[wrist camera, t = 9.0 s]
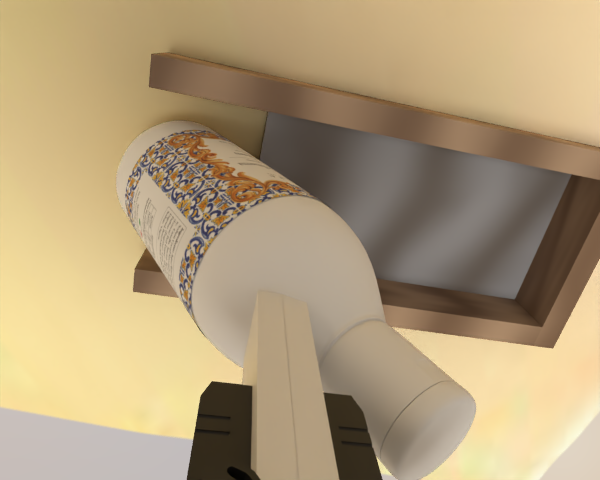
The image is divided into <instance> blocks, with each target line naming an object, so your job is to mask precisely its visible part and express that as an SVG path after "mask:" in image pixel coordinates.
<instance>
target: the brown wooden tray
mask: <svg viewBox="0 0 600 480" xmlns="http://www.w3.org/2000/svg"><path fill="white" fill-rule="evenodd" d="M149 87H152V88H156V89H161V90H166V91H171V92H176V93H181V94H186V95H190V96H195V97H200V98H205V99H210V100H215V101H219V102H224V103H229V104H234V105H239V106H244V107H248V108H253V109H258V110H263V111H268V115H267V121H266V126H265V132H264V137H263V143H262V149H261V154H260V161H261V162H263V163H264V164H266V165H267V166H269V167H270V168H272V169H273V170H275V171H276V172H278V173H279V174H281V175H282V176H284V177H285V178H287V179H288V180H290V181H291V182H293V183H295V184H296V185H298V186H299V187H301V188H302V189H304V190H305V191H307V192H308V193H310V194H311V195H313V196H314V197H316V198H317V199H319V200H320V201H322V202H323V203H325V204H326V205H328V206H329V207H330V208H331V209H332V210H333V211H334V212H335V213H336V214H338V215H339V216H340V217H341V218H342V219H343V220H344V221H345V222H346V223H347V225H348V226H349V227H350V228H351V229H352V230H353V232H354V233H355V235H356V236H357V237H358V239H359V240H360V242H361V243H362V245H363V247H364V249H365V250H366V252H367V255H368V257H369V259H370V262H371V264H372V267H373V270H374V273H375V276H376V280H377V284H378V288H379V293H380V297H381V302H382V306H383V311H384V316H385V321H386V323H387V325H389V326H391V327H398V328H406V329H413V330H420V331H428V332H435V333H443V334H450V335H457V336H465V337H472V338H479V339H487V340H494V341H502V342H509V343H516V344H524V345H531V346H538V347H546V348H554V346H555V344H556V342H557V340H558V338H559V336H560V334H561V332H562V330H563V328H564V326H565V324H566V322H567V321H568V319H569V317H570V315H571V313H572V311H573V309H574V307H575V305H576V303H577V301H578V299H579V297H580V295H581V294H582V292H583V290H584V288H585V286H586V284H587V282H588V280H589V278H590V276H591V274H592V272H593V270H594V268H595V267H596V265H597V263H598V261H599V259H600V147H595V146H591V145H586V144H581V143H577V142H572V141H568V140H563V139H559V138H554V137H550V136H545V135H540V134H536V133H531V132H527V131H522V130H518V129H513V128H509V127H504V126H499V125H495V124H490V123H486V122H481V121H477V120H472V119H468V118H463V117H458V116H454V115H449V114H445V113H440V112H436V111H431V110H427V109H422V108H418V107H413V106H408V105H404V104H399V103H395V102H390V101H386V100H381V99H377V98H372V97H367V96H363V95H358V94H354V93H349V92H345V91H340V90H336V89H331V88H326V87H322V86H317V85H313V84H308V83H304V82H299V81H295V80H290V79H285V78H281V77H276V76H272V75H267V74H263V73H258V72H254V71H249V70H244V69H240V68H235V67H231V66H226V65H222V64H217V63H213V62H208V61H203V60H199V59H194V58H190V57H185V56H181V55H176V54H172V53H158V54H151V67H150V80H149ZM133 292H140V293H147V294H155V295H162V296H169V297H177V298H179V297H178V295H177V294H176V292H175V291H174V289H173V288H172V286H171V284H170V283H169V281H168V280H167V278H166V277H165V275H164V274H163V272H162V270H161V269H160V267H159V266H158V264H157V263H156V261H155V260H154V258H153V256H152V255H151V253H150V252H149V250H148V249H147V248H146V250H145V251H144V253H143V255H142V257H141V259H140V260H139V262H138V264H137V266H136V268H135V273H134V286H133Z"/></svg>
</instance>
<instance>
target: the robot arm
mask: <svg viewBox="0 0 600 480" xmlns="http://www.w3.org/2000/svg"><path fill="white" fill-rule="evenodd" d="M187 480H382V476H381V473H380V469H379V466H378V462H377V459H376V455H375V452H374V448H372V441H371V438H370V434H369V433H368V427H367V423H366V420H365V416H364V413H363V411H362V409H361V408H360V407H359V405H358V404H357V403H356V401H355V400H354V399H353V397H352V396H351V395H342V394H333V393H324V392H323V388H322V383H321V378H320V372H319V367H318V361H317V356H316V350H315V345H314V339H313V334H312V328H311V323H310V318H309V312H308V307H307V302H304V301H301V300H298V299H295V298H292V297H289V296H286V295H284V294H280V293H273V292H266V291H259V290H258V293H257V297H256V302H255V307H254V312H253V317H252V322H251V328H250V333H249V337H248V342H247V347H246V351H245V356H244V361H243V378H242V385H240V384H231V383H222V382H213V381H212V382H211V383H210V385H209V386H208V387H207V388H206V390H205V391H204V392H203V394H202V395H201V397H200V403H199V409H198V415H197V421H196V427H195V433H194V439H193V446H192V451H191V457H190V463H189V469H188V475H187Z"/></svg>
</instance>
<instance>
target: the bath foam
mask: <svg viewBox="0 0 600 480" xmlns="http://www.w3.org/2000/svg"><path fill="white" fill-rule="evenodd" d="M116 190H117V195H118V199H119V202H120V204H121V207H122V209H123V210H124V212H125V214H126V215H127V217H128V219H129V220H130V222H131V224H132V225H133V227H134V229H135V230H136V232H137V233H138V235H139V236H140V238H141V239H142V241H143V243H144V244H145V246H146V247H147V249H148V250H149V252H150V253H151V255H152V256H153V258H154V260H155V261H156V263H157V264H158V266H159V267H160V269H161V270H162V272H163V274H164V275H165V277H166V278H167V280H168V281H169V283H170V284H171V286H172V288H173V289H174V291H175V292H176V294H177V295H178V297H179V298H180V300H181V302H182V303H183V305H184V306H185V308H186V309H187V311H188V312H189V314H190V315H191V317H192V319H193V320H194V322H195V323H196V325H197V326H198V328H199V329H200V331H201V332H202V333H203V335H204V336H205V337H206V338H207V339H208V340H209V341H210V342H211V343H212V344H213V345H214V346H215V347H216V348H217V349H218V350H219V351H220V352H221V353H222V354H223V355H225V356H226V357H227V358H228V359H230V360H231V361H232V362H234V363H235V364H237V365H238V366H240V367H242V368H243V361H244V356H245V351H246V347H247V342H248V337H249V333H250V328H251V322H252V317H253V312H254V307H255V302H256V297H257V293H258V290H259V291H266V292H273V293H280V294H284V295H286V296H289V297H292V298H295V299H298V300H301V301H304V302H307V307H308V312H309V318H310V323H311V328H312V334H313V339H314V345H315V350H316V356H317V361H318V367H319V372H320V378H321V383H322V388H323V392H324V393H333V394H342V395H351V396H352V397H353V399H354V400H355V401H356V403H357V404H358V405H359V407H360V408H361V409H362V411H363V413H364V416H365V420H366V423H367V427H368V433H369V434H370V438H371V441H372V448H374V452H375V455H376V456H377V458H378V459H379V460H380V461H381V462H382V463H383V465H384V466H385V467H386V468H387V469H388V471H389V472H390V473H391V474H392V475H393V476H394V477H395V478H396V479H398V480H419V479H422V478H423V477H425V476H427V475H428V474H430V473H431V472H433V471H434V470H435V469H436V468H438V467H439V466H440V465H441V464H442V463H443V462H444V461H445V460H446V459H447V458H448V457H449V456H450V455H451V454H452V453H453V452H454V451H455V449H456V448H457V447H458V446H459V444H460V443H461V442H462V440H463V439H464V437H465V436H466V434H467V432H468V431H469V429H470V427H471V425H472V422H473V420H474V417H475V413H476V404H475V400H474V399H473V397H472V396H471V394H470V393H469V392H468V391H467V390H465V389H464V388H463V387H462V386H460V385H459V384H458V383H457V382H455V381H454V380H453V379H452V378H451V377H449V376H448V375H447V374H446V373H445V372H444V371H442V370H441V369H440V368H439V367H438V366H436V365H435V364H434V363H433V362H432V361H431V360H430V359H428V358H427V357H426V356H425V355H424V354H423V353H422V352H420V351H419V350H418V349H417V348H416V347H415V346H413V345H412V344H411V343H410V342H409V341H408V340H406V339H405V338H404V337H403V336H402V335H400V334H399V333H398V332H397V331H395V330H394V329H393V328H392V327H390V326H389V325H387V323H386V321H385V316H384V311H383V306H382V302H381V297H380V293H379V288H378V284H377V280H376V276H375V273H374V270H373V267H372V264H371V262H370V259H369V257H368V255H367V252H366V250H365V249H364V247H363V245H362V243H361V242H360V240H359V239H358V237H357V236H356V235H355V233H354V232H353V230H352V229H351V228H350V227H349V226H348V225H347V223H346V222H345V221H344V220H343V219H342V218H341V217H340V216H339V215H338V214H336V213H335V212H334V211H333V210H332V209H331V208H330V207H329V206H328V205H326V204H325V203H323V202H322V201H320V200H319V199H317V198H316V197H314V196H313V195H311V194H310V193H308V192H307V191H305V190H304V189H302V188H301V187H299V186H298V185H296V184H295V183H293V182H291V181H290V180H288V179H287V178H285V177H284V176H282V175H281V174H279V173H278V172H276V171H275V170H273V169H272V168H270V167H269V166H267V165H266V164H264V163H263V162H261V161H260V160H258V159H257V158H255V157H254V156H252V155H251V154H249V153H248V152H246V151H244V150H243V149H241V148H240V147H238V146H237V145H235V144H234V143H232V142H231V141H229V140H228V139H226V138H225V137H223V136H221V135H220V134H218V133H217V132H215V131H213V130H212V129H210V128H208V127H206V126H204V125H202V124H199V123H196V122H191V121H182V120H178V121H169V122H164V123H161V124H158V125H155V126H153V127H151V128H149V129H147V130H146V131H144V132H143V133H141V134H140V135H139V136H138V137H137V138H135V139H134V140H133V142H132V143H131V144H130V145H129V146H128V148H127V149H126V151H125V153H124V155H123V157H122V159H121V161H120V164H119V167H118V170H117V175H116Z"/></svg>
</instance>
